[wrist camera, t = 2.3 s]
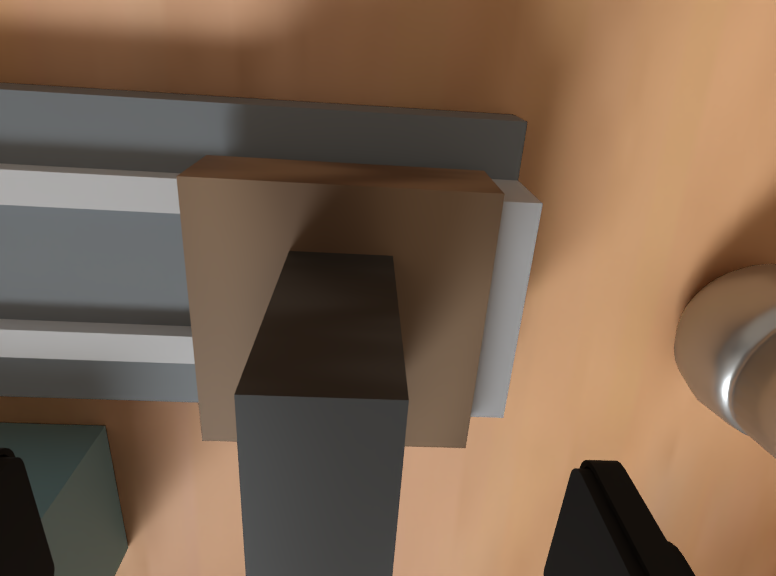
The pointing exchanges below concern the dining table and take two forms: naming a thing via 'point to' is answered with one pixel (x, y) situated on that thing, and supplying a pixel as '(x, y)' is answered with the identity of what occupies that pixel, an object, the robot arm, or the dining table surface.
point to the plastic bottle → (734, 350)
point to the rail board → (164, 234)
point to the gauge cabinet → (72, 494)
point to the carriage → (333, 340)
